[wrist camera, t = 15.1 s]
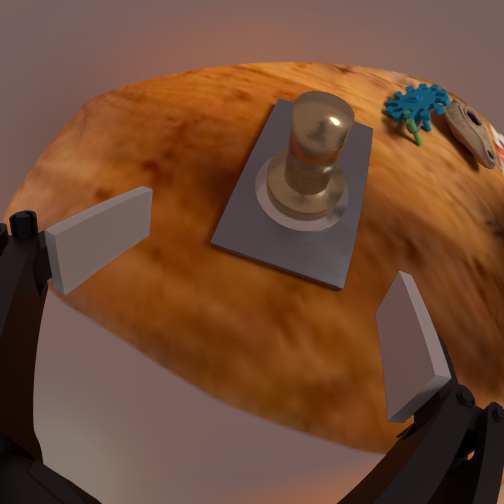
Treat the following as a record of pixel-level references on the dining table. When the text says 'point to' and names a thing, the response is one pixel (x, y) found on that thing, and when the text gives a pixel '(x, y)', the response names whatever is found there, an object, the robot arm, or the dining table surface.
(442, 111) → the gear
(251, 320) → the dining table surface
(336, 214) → the carrier plate
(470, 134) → the pottery oil lamp
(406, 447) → the robot arm
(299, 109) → the metal knob
